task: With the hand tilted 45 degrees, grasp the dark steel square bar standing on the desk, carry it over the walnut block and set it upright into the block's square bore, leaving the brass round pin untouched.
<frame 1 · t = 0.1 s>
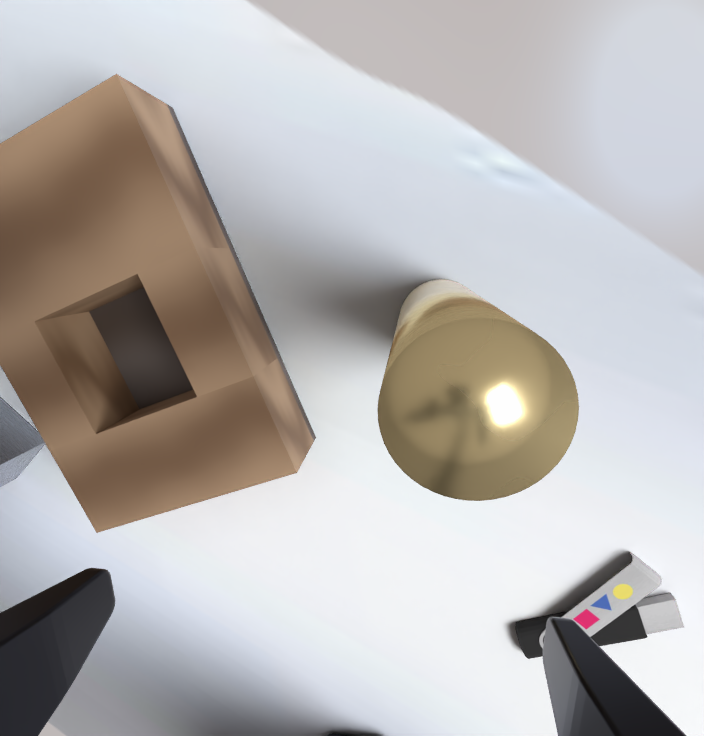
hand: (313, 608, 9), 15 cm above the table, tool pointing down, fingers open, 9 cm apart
bore block: (163, 341, 24), on the table
square bit: (7, 437, 27), on the table
brass pin: (439, 320, 21), on the table
usb flash drive: (582, 595, 25), on the table
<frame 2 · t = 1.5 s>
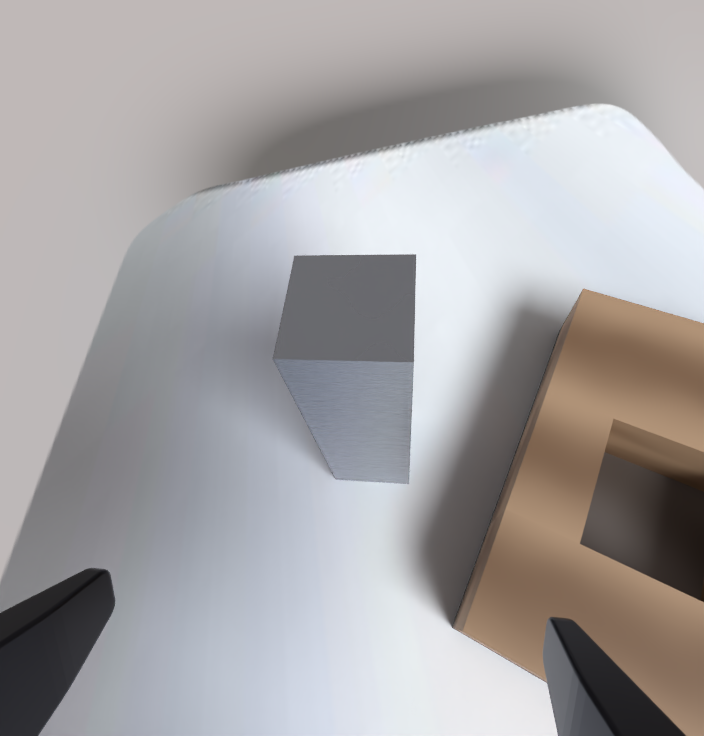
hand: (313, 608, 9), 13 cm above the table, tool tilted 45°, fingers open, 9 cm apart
bore block: (630, 526, 21), on the table
square bit: (374, 446, 24), on the table
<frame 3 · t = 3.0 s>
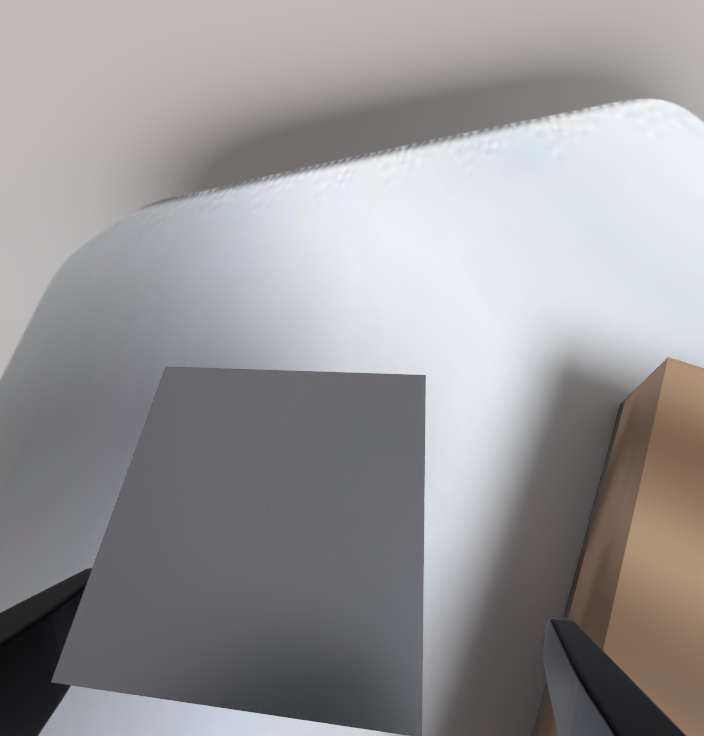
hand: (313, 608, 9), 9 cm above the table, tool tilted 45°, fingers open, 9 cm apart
square bit: (357, 581, 16), on the table
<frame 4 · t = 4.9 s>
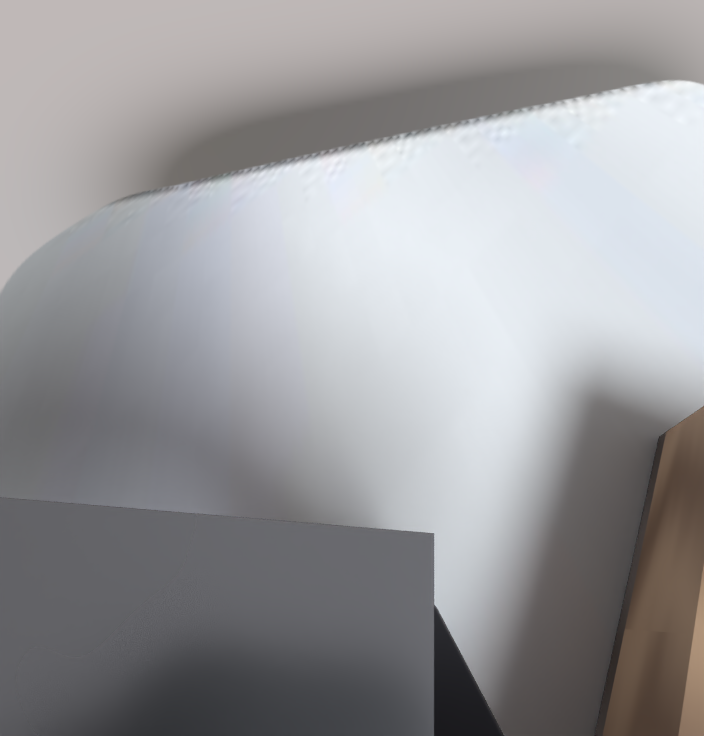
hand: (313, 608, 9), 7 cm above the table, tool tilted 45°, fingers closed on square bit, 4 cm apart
square bit: (345, 659, 14), on the table, touching gripper
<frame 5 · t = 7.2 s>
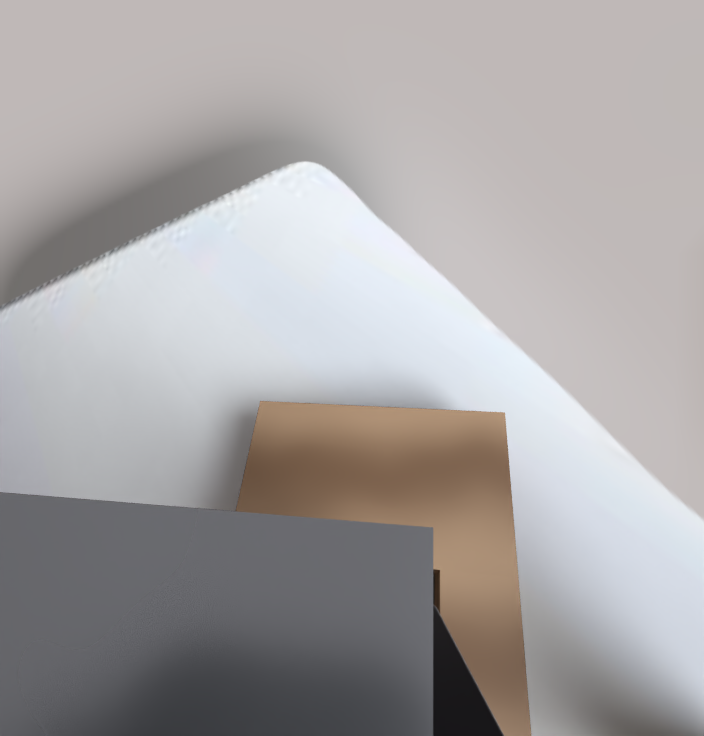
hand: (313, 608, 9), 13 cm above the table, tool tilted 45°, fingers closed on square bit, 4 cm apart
bore block: (367, 642, 19), on the table
square bit: (345, 658, 14), point 7 cm above the table, touching gripper
when the fingers open (8 cm above the table, at t = 9.4 s): square bit stays where it is, resting on bore block.
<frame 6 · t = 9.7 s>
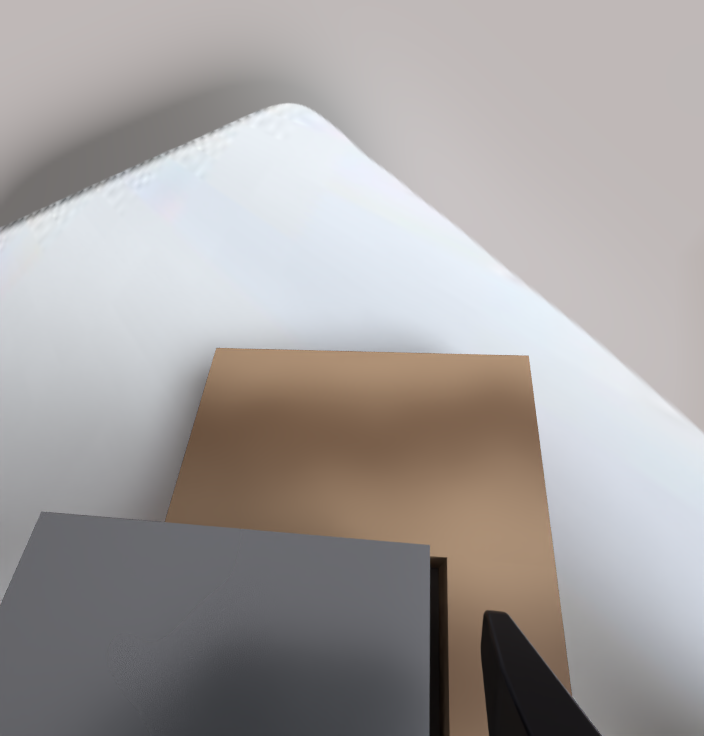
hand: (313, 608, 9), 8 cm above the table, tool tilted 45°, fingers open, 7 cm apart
bore block: (350, 655, 15), on the table
square bit: (349, 656, 14), point 1 cm above the table, touching bore block
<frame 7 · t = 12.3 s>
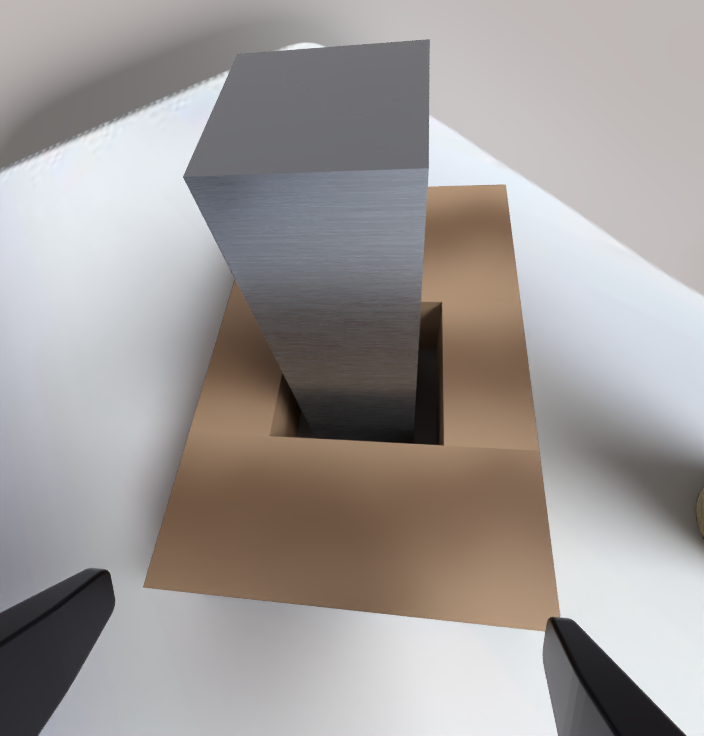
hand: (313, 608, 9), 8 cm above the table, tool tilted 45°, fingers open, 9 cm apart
bore block: (369, 408, 19), on the table
square bit: (368, 403, 19), resting on bore block
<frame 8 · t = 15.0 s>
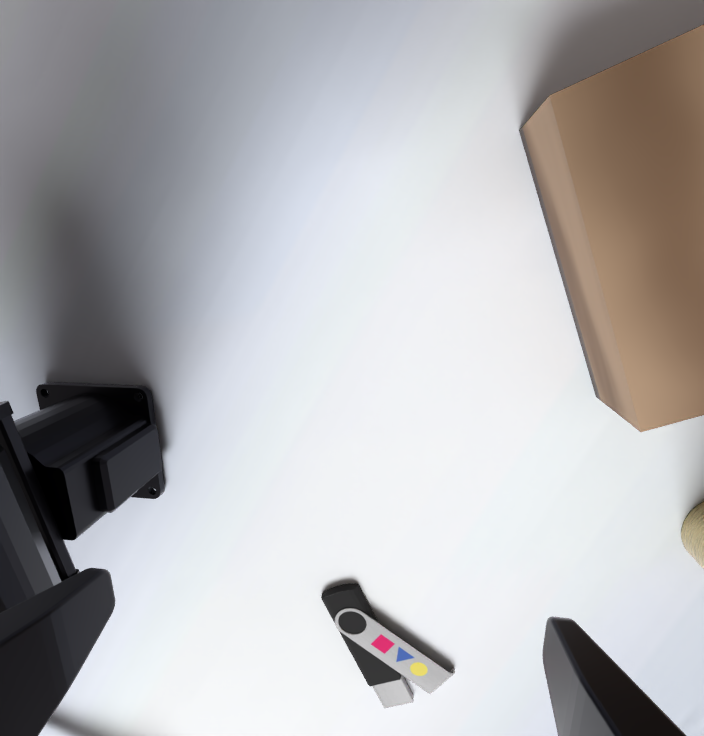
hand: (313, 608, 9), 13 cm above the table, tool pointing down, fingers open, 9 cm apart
usb flash drive: (392, 629, 25), on the table
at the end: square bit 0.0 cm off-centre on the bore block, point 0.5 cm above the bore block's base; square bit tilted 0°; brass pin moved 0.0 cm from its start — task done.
